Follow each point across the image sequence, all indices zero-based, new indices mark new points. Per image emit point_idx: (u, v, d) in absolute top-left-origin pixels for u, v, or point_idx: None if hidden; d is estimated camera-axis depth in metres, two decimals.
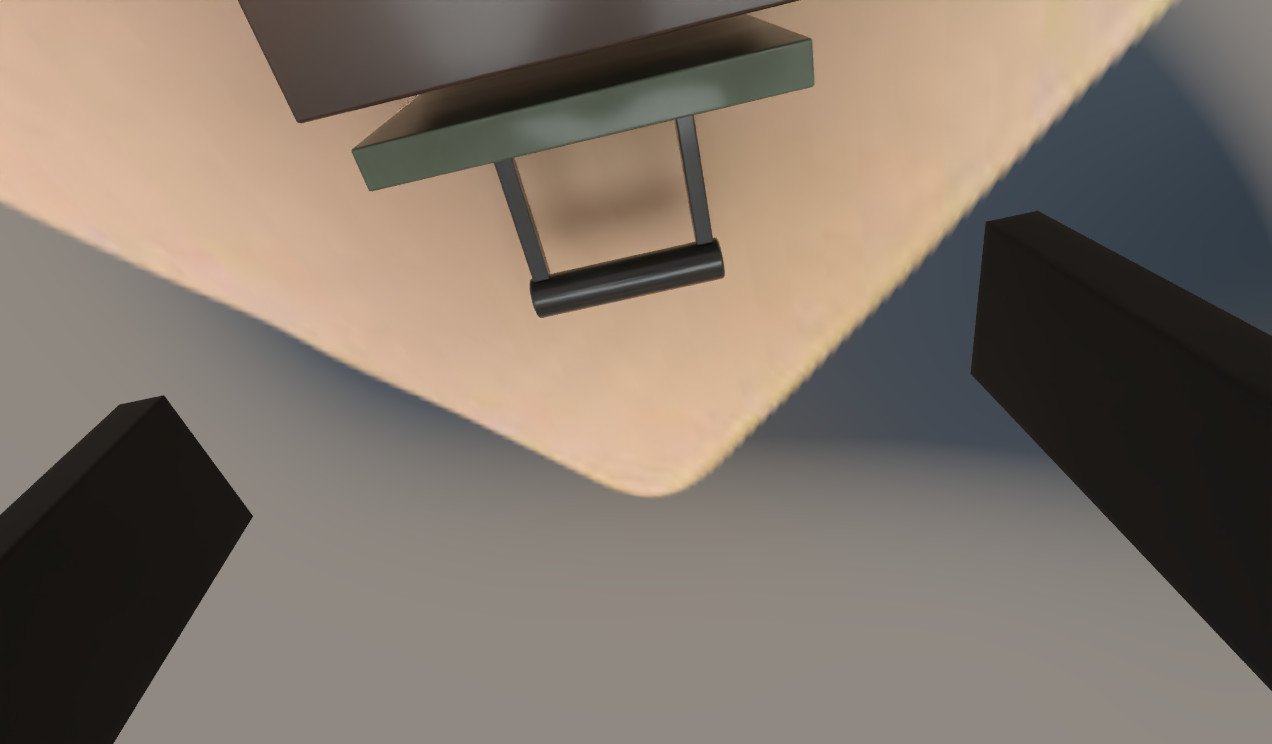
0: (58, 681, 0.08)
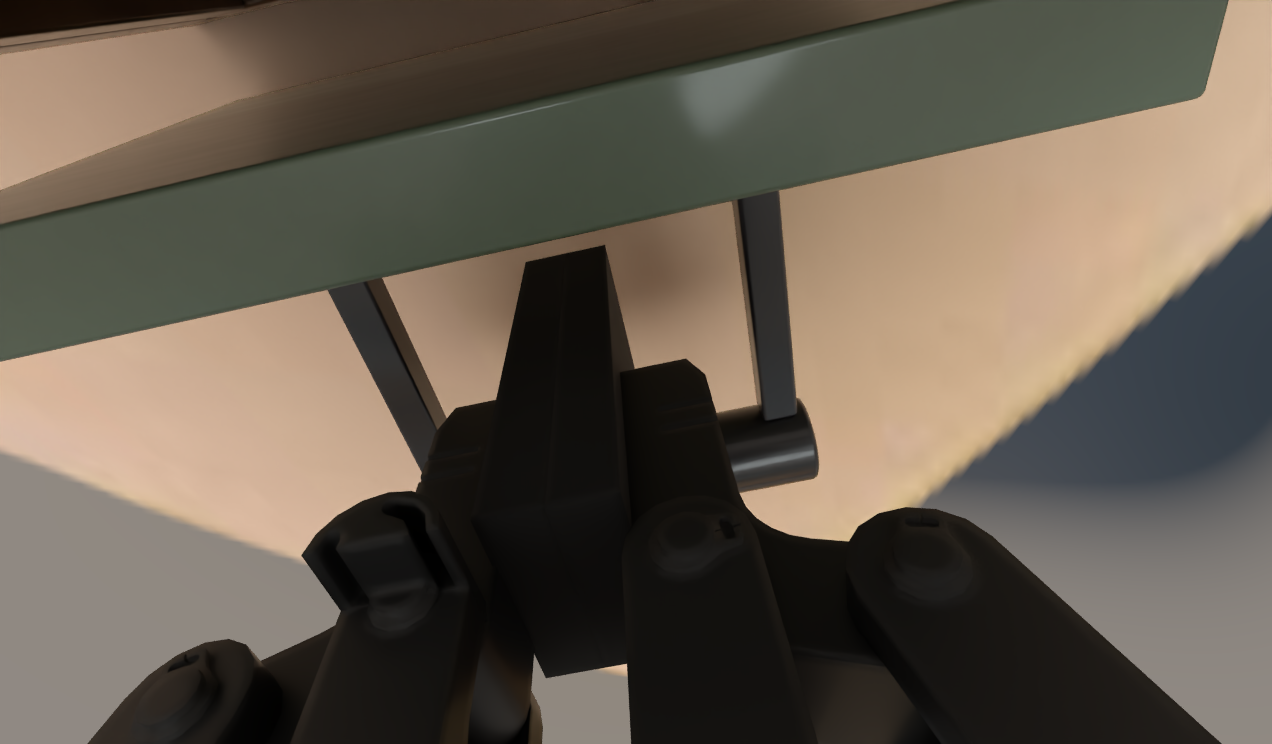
0: None
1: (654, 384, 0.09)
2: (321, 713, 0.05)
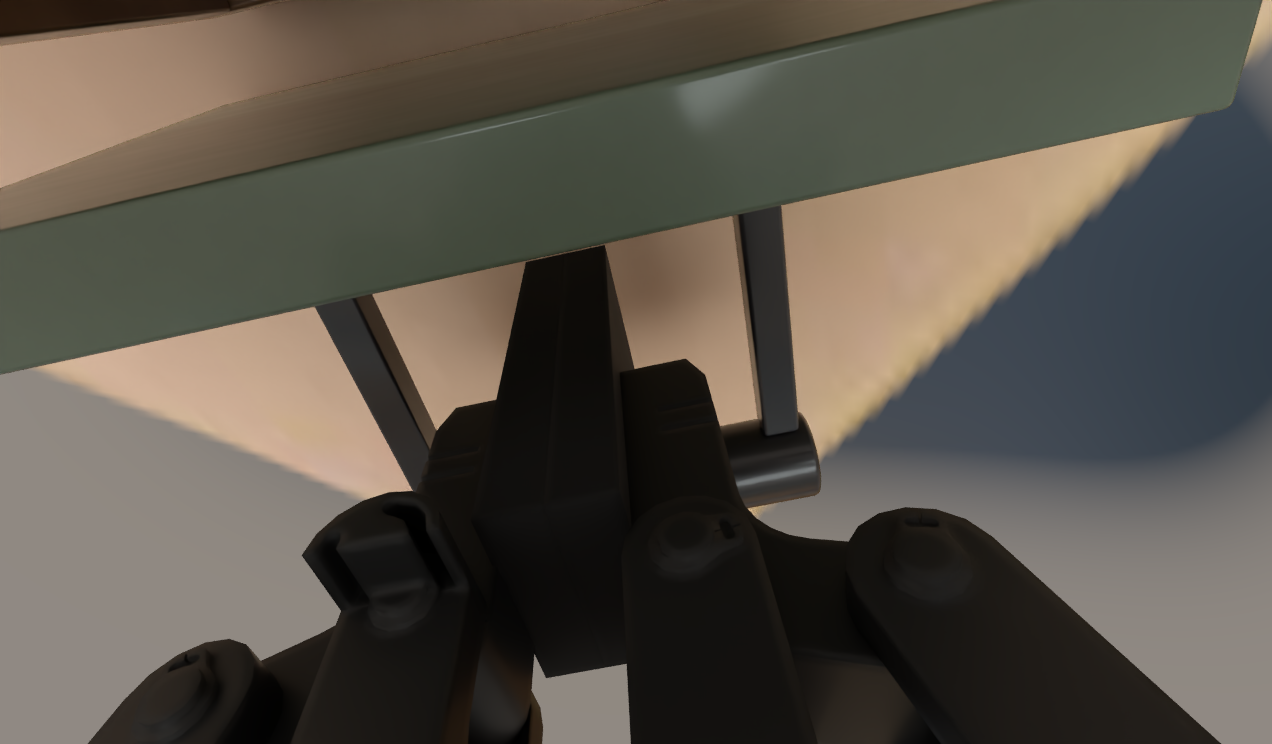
0: None
1: (654, 384, 0.09)
2: (322, 713, 0.05)
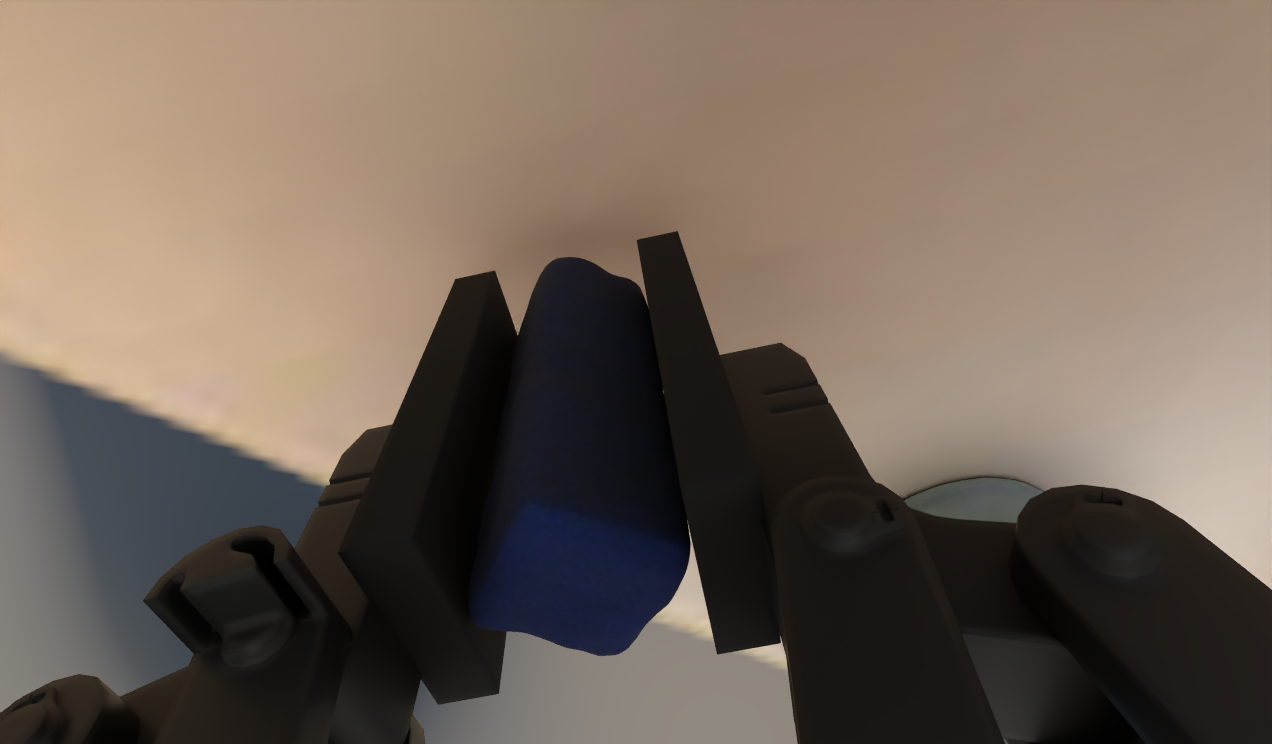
0: None
1: (752, 368, 0.09)
2: None
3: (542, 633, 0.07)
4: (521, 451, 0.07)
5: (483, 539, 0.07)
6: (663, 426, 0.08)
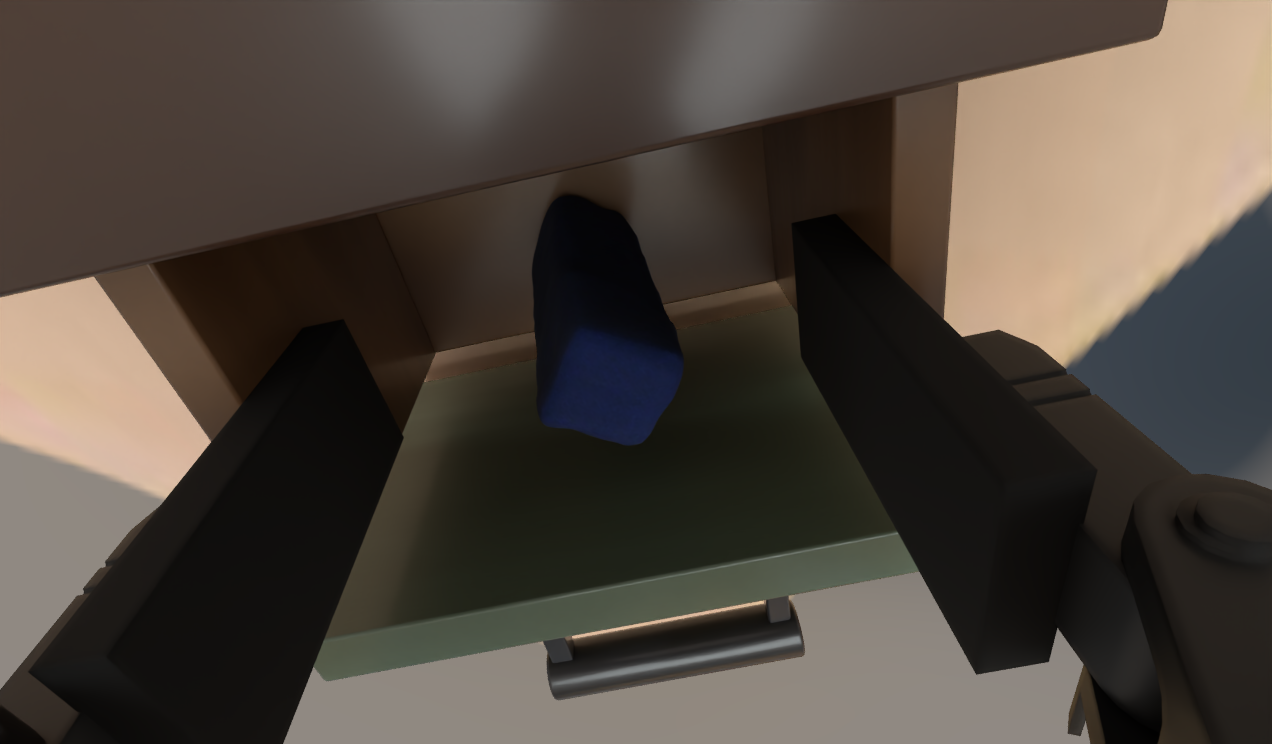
0: (302, 546, 0.09)
1: None
2: None
3: (589, 427, 0.11)
4: (566, 306, 0.11)
5: (543, 371, 0.11)
6: (656, 297, 0.12)
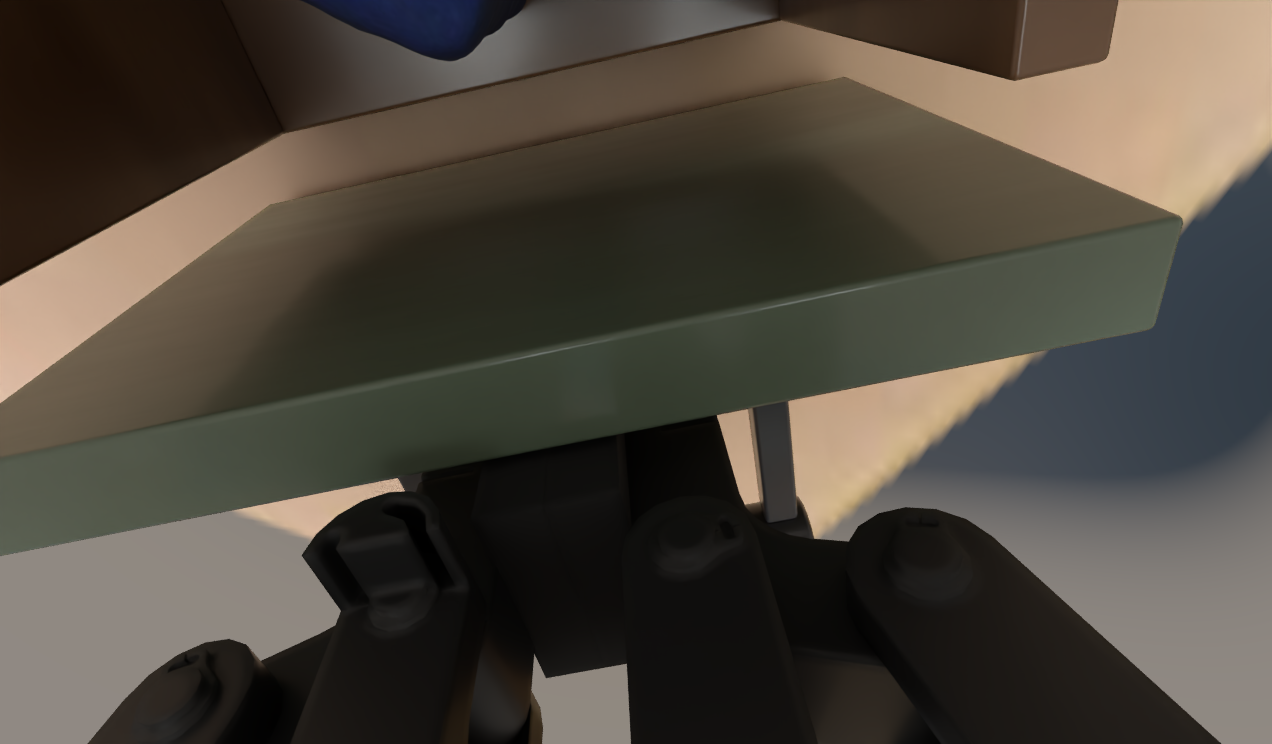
0: None
1: None
2: (321, 713, 0.05)
3: None
4: None
5: None
6: None
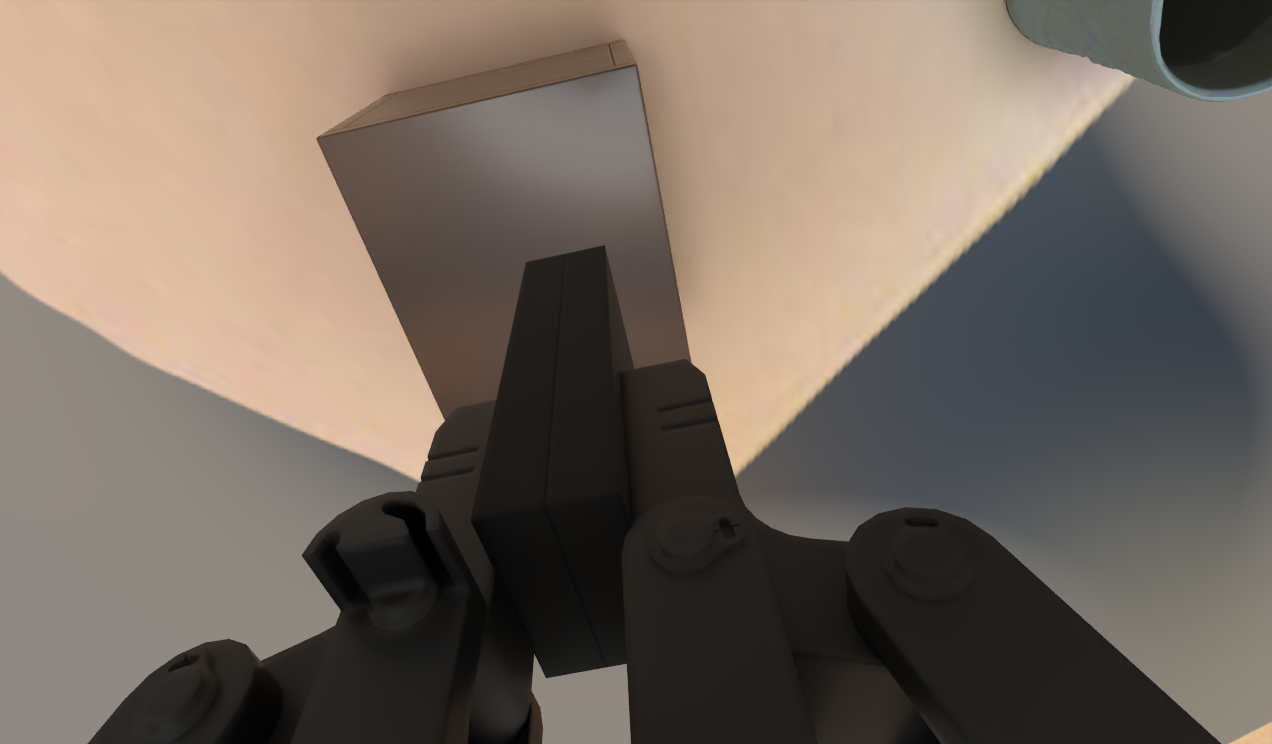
0: None
1: (654, 384, 0.09)
2: (322, 713, 0.05)
3: None
4: None
5: None
6: None
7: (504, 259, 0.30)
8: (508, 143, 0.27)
